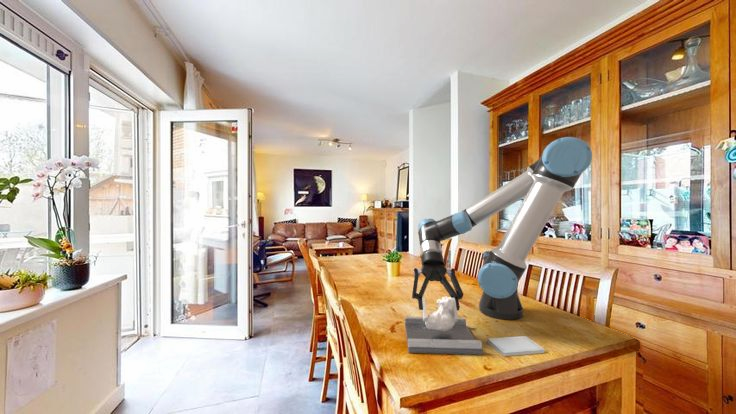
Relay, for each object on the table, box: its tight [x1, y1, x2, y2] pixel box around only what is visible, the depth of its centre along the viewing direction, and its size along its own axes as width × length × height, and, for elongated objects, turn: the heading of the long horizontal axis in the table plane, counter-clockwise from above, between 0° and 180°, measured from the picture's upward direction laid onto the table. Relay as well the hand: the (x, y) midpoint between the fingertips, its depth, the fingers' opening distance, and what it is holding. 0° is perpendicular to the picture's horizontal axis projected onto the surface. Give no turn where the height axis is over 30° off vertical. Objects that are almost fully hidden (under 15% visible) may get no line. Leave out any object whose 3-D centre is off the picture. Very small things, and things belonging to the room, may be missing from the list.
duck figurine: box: [425, 295, 455, 331], centre depth 83 cm, size 12×8×11 cm
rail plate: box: [404, 316, 484, 356], centre depth 84 cm, size 20×18×3 cm
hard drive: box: [486, 335, 546, 357], centre depth 78 cm, size 2×8×12 cm
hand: (440, 320), depth 80 cm, fingers closed on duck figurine, 8 cm apart
